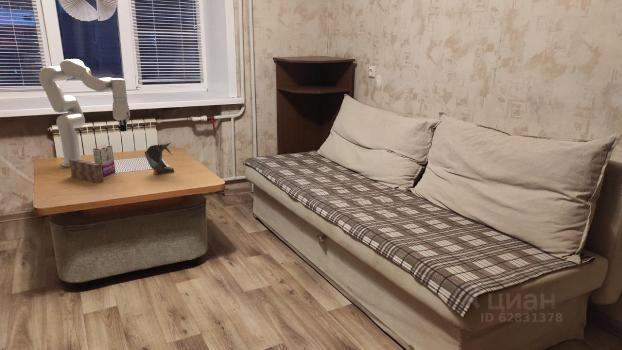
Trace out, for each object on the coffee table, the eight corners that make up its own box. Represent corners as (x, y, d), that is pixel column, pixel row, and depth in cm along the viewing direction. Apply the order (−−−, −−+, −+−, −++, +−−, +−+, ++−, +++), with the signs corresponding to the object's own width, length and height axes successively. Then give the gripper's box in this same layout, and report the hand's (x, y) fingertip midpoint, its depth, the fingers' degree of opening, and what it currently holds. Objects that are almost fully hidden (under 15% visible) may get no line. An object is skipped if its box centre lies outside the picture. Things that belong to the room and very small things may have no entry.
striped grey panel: (71, 176, 252) (69, 159, 250) (76, 175, 255) (74, 158, 252) (98, 183, 241) (95, 165, 238) (103, 181, 243) (100, 164, 241)
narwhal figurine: (146, 170, 266) (143, 141, 261) (173, 168, 271) (170, 139, 266) (146, 176, 253) (143, 146, 248) (174, 174, 258) (172, 144, 253)
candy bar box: (108, 171, 264) (104, 144, 259) (115, 171, 263) (112, 144, 258) (95, 176, 253) (92, 148, 249) (103, 177, 252) (100, 149, 248)
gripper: (106, 99, 259) (110, 130, 264) (123, 101, 252) (126, 133, 257) (117, 98, 265) (120, 128, 271) (134, 100, 258) (137, 131, 263)
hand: (123, 131), depth 264 cm, fingers closed
